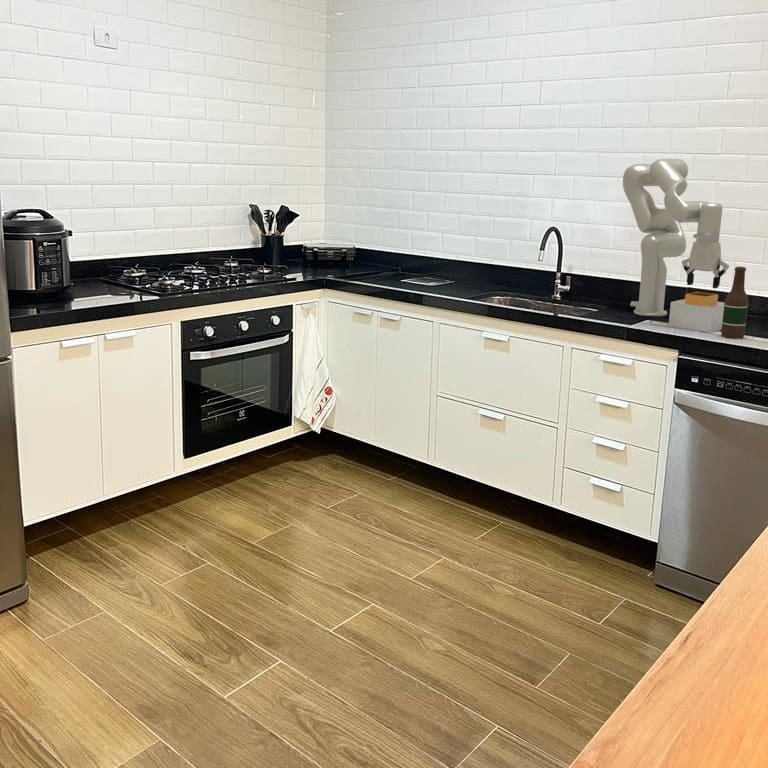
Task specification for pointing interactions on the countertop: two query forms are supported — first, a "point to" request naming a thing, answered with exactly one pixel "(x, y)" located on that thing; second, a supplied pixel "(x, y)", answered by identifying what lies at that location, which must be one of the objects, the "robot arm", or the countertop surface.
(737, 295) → the beer bottle
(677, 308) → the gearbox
